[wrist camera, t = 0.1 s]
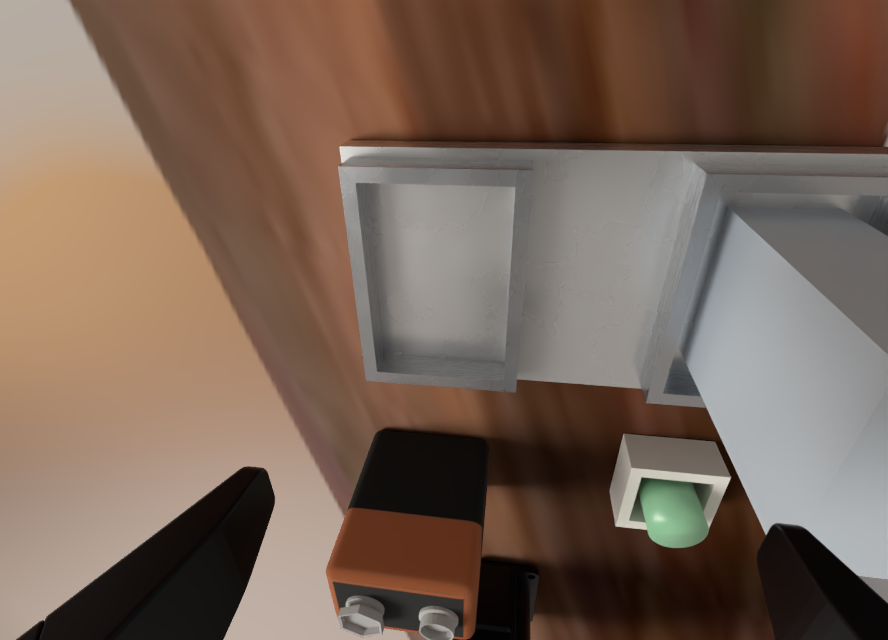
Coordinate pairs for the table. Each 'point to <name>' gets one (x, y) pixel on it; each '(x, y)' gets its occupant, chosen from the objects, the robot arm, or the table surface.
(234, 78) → the table surface
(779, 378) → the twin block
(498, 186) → the grey metal tray
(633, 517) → the button housing
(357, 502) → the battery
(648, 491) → the button
